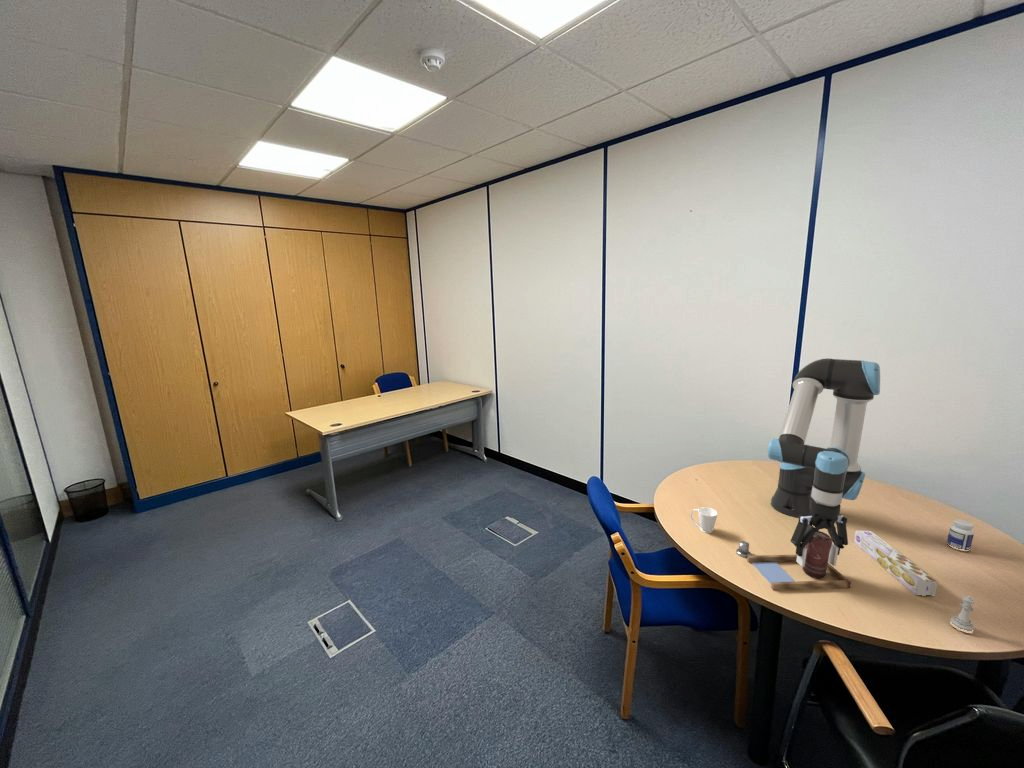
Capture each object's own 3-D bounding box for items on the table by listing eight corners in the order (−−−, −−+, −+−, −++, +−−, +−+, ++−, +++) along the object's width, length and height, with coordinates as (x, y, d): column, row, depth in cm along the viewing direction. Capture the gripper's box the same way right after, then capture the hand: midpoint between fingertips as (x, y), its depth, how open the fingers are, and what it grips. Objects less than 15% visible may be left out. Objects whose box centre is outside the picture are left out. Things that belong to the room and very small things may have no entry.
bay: (816, 559, 139) (817, 553, 138) (850, 587, 125) (851, 582, 125) (747, 561, 139) (747, 555, 138) (772, 590, 125) (773, 584, 125)
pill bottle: (962, 544, 145) (968, 519, 142) (974, 554, 139) (980, 528, 137) (942, 541, 146) (947, 516, 144) (952, 551, 141) (958, 525, 139)
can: (827, 582, 128) (834, 542, 125) (802, 575, 131) (808, 536, 128) (825, 571, 133) (831, 533, 130) (801, 564, 136) (807, 527, 133)
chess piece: (974, 637, 107) (983, 605, 104) (950, 628, 110) (958, 597, 107) (972, 627, 110) (980, 595, 108) (948, 619, 113) (956, 588, 111)
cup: (711, 537, 152) (713, 518, 151) (685, 526, 160) (687, 508, 158) (719, 530, 157) (721, 511, 155) (694, 520, 164) (695, 502, 163)
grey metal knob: (745, 549, 145) (747, 539, 144) (753, 557, 141) (754, 547, 140) (733, 549, 145) (734, 540, 144) (740, 557, 141) (741, 547, 140)
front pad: (775, 562, 138) (775, 561, 137) (798, 586, 127) (798, 584, 127) (752, 563, 138) (752, 562, 137) (773, 586, 127) (773, 585, 127)
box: (852, 542, 148) (855, 528, 146) (868, 543, 147) (871, 529, 146) (915, 597, 121) (919, 581, 120) (935, 598, 120) (939, 582, 119)
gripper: (850, 493, 130) (840, 555, 135) (782, 495, 130) (774, 557, 135) (871, 505, 123) (859, 570, 128) (798, 507, 123) (789, 572, 128)
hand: (815, 563), depth 131 cm, fingers open, 9 cm apart
